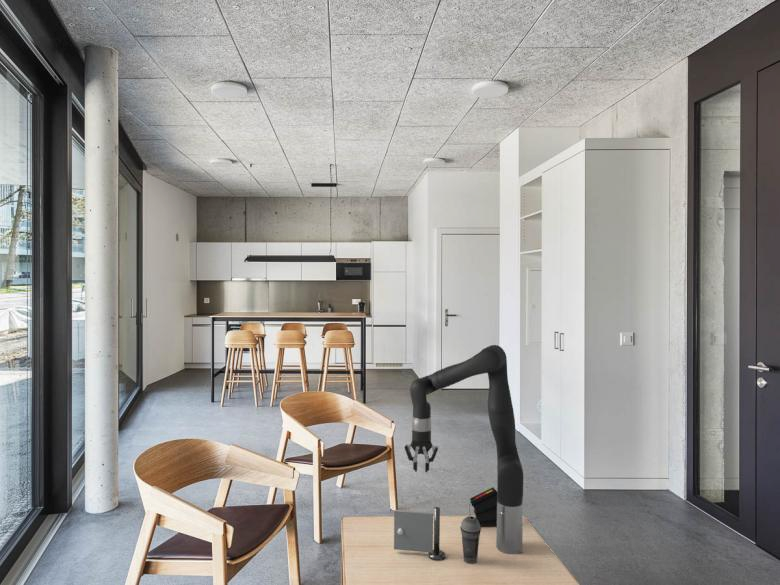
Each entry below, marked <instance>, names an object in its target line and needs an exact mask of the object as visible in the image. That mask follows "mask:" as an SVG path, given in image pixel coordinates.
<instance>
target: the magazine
mask: <svg viewBox="0 0 780 585" xmlns="http://www.w3.org/2000/svg"><path fill="white" fill-rule="evenodd" d="M469 501H470V505H471V506H472V507H473V512H474V515H475V516H474V517H475V518H476V519H477V520H478V521H479V523H480V526H481V528H487V527H488V528H495V527H496V528H497V489H495V487H491V488H488V489H486V490H485V491H483V492H480V493H479V494H476V495H474V496H473V497H470V498H469Z"/></svg>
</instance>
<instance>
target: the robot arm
mask: <svg viewBox="0 0 780 585" xmlns="http://www.w3.org/2000/svg"><path fill="white" fill-rule="evenodd" d="M483 374H487V377H488V382H489V386H488V387H489V388H488V395H487V412H488V419H489V424H490V428H491V432H492V435H493V438H494V441H495V446H496V456H497V459H496V462H497V465H496V468H497V472H496V473H497V475H496V476H497V479H496V481H497V482H496V483H497V488H496V491H497V527H496V537H495V538H496V541H495V543H496V544H495V546H496V549H497V550H498V551H499V552H502V553H504V554H518V553H523V532H524V531H523V529H524V528H523V498H524V471H523V470H524V469H523V465H522V463H521V460H520V457H519V456H520V455H519V453H518V447H517V443H516V442H517V441H516V421H515V420H516V419H515V413H514V408H513V401H512V395H511V391H510V385H509V379H508V378H509V377H508V360H507V354H506V352H505V350H504V349H503V348H502V347H501V346H499V345H498V344H492V345H489V346H487V347H485V348H482V350H481V351H479V352H478V353H476V354H475V355H473V356H471V357H470V358H468V359H466V360H464V361H462V362H458V363H455V364H452V365H449V366H446V367H443V368H442V369H439V370H437V371H434V372H433V373H431V374H429V375H426V376H422V377H420V378H417V379H414V380H413V381H412V382H411V384H410V388H409V389H410V390H409V394H410V398H411V399H410V400H411V404H412V423H411V438H412V439H411V442H410V443H409V444H405V445H404V451H405V453H406V456H407V459H408V461H409V462H410V461H411V462H412V466H413V467H412V470H413V471H414V472H416V473H417V472H418V460H417V459H418V456H419V455H424V456H423V457H424V459H425V464H424V465H425V466H424V467H425V471H424V472H425V473H428V471H429V470H430V463H433V462H434V460H435V458H436V456H437V453H438V451H439V446H437V445H436V446H435V445H434V444H433V443H432V419H431V417H432V416H431V414H432V412H431V410H432V409H431V408H432V406H431V404H430V402H428V400H427V395H430V394H432V393H434V392H436V391H439V390H441V389H445V388H448V387H450V386H453V385H455V384H458V383H459V382H462V381H464V380H466V379H468V378H471V377H474V376H477V375H483ZM411 449H412V450H413V451H414V454H413V455H414V456H413V455H412V452H411ZM430 450H431V451H432V455H431V457H429V452H430Z"/></svg>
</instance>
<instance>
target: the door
mask: <svg viewBox="0 0 780 585" xmlns="http://www.w3.org/2000/svg"><path fill="white" fill-rule="evenodd" d="M393 512H394V514H393V521H394V522H393V527H394V528H393V550H398V551H408V552H420V553H428V552H430V553H433V550H434V512H431V511H430V512H429V511H417V510H416V511H415V510H404V509H394V511H393Z"/></svg>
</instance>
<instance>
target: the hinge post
mask: <svg viewBox="0 0 780 585" xmlns="http://www.w3.org/2000/svg"><path fill="white" fill-rule="evenodd" d="M440 516H441V508H440V507H439V506H435V507H434V508H433V553H430V552H427V557H428V559H430V560H432V561H437V562H438V561H442V560H444V559H445V558H446V553H445V551H443V550H441V549H440V544H441V542H440V540H441V539H440V534H441V531H440V530H441V529H440V528H441V527H440V526H441V525H440V524H441V521H440V520H441V517H440Z"/></svg>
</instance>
